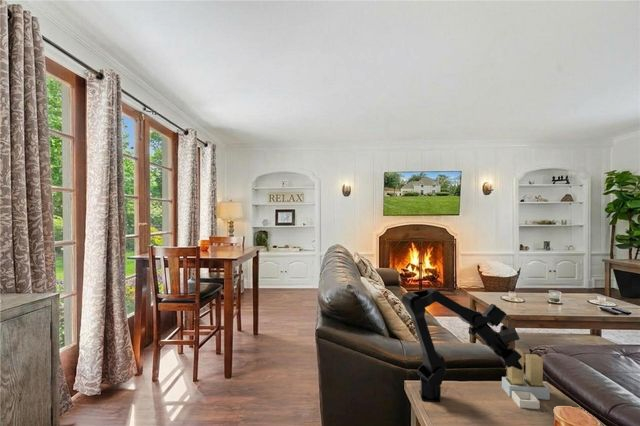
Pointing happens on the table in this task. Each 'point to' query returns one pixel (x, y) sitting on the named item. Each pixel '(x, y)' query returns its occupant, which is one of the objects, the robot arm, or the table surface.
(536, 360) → the seated billet
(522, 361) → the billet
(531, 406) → the box
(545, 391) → the two-compartment pale blue organizer
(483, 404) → the table surface
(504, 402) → the table surface
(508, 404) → the table surface
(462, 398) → the table surface
